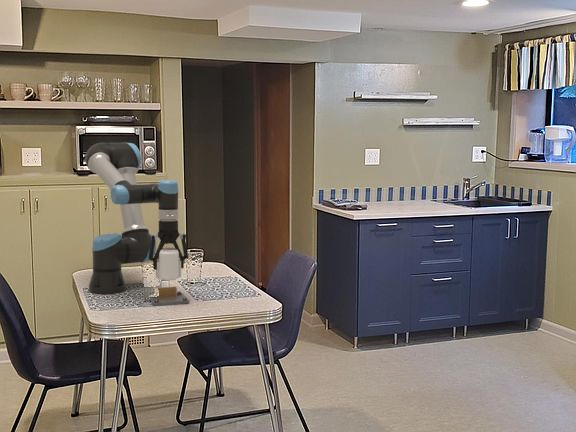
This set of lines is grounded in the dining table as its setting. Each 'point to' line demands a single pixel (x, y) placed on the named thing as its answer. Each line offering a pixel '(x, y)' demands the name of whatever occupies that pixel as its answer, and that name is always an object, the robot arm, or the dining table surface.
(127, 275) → the dining table surface
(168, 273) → the beverage can
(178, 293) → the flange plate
